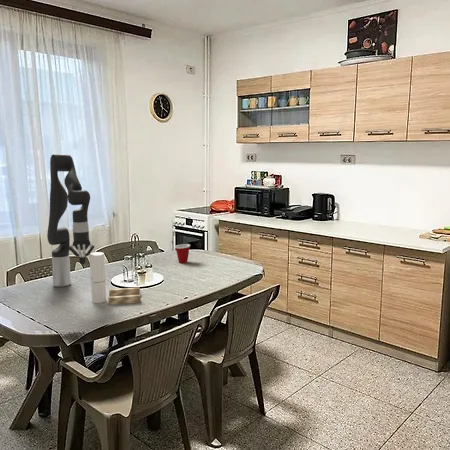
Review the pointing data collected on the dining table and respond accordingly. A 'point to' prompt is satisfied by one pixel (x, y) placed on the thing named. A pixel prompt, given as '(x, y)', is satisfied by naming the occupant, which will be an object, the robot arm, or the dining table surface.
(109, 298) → the rest
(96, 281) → the cylindrical container
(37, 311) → the dining table surface
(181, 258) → the plastic cup
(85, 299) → the dining table surface
